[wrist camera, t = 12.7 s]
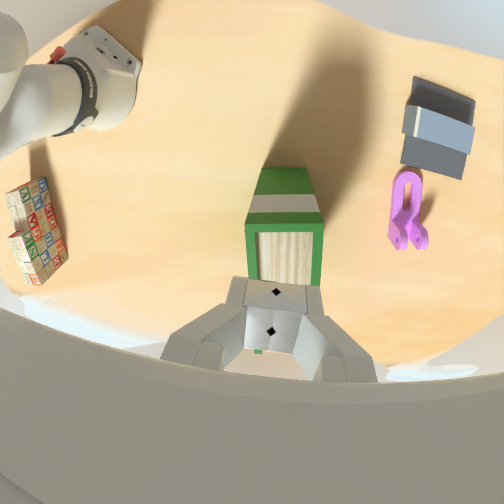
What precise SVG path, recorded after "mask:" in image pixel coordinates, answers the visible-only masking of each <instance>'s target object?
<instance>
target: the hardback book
mask: <svg viewBox="0 0 504 504" xmlns="http://www.w3.org/2000/svg"><path fill="white" fill-rule="evenodd" d="M323 228H324V223H323V220H322V216H321V213H320V210H319V207H318V203H317V200H316V197H315V194H314V191H313V188H312V185H311V182H310V179H309V176H308V173H307V170H306V168H262V169H261V173H260V176H259V179H258V182H257V185H256V189H255V192H254V195H253V198H252V201H251V205H250V208H249V211H248V214H247V218H246V221H245V237H246V250H247V263H248V276H249V278H253V279H260V280H267V281H274V282H279V283H289V284H299V285H314V286H319V287H320V278H321V264H322V248H323ZM254 352H255V354H262V350H258V349H254Z"/></svg>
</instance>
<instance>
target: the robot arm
mask: <svg viewBox="0 0 504 504" xmlns="http://www.w3.org/2000/svg"><path fill="white" fill-rule="evenodd" d="M87 33H88V34H87ZM86 34H87V35H86ZM28 54H29V48H28V41H27V37H26V34H25V32H24V30H23V28H22V26H21V25H20V24H19V23H18V22H17V21H16V20H15V19H14V18H12V17H11V16H9V15H7V14H5V13H1V12H0V160H2V159H3V158H5V157H6V156H7V155H9V154H10V153H12V152H13V151H15V150H17V149H18V148H20V147H22V146H24V145H26V144H28V143H31V142H34V141H37V140H40V139H43V138H46V137H49V136H53V137H56V136H62V135H66V134H70V133H73V132H77V131H80V130H82V129H92V130H97V131H105V130H109V129H112V128H114V127H116V126H117V125H119V124H120V123H121V122H122V121H123V120H124V119H125V118H126V117H127V115H128V114H129V112H130V111H131V109H132V106H133V104H134V100H135V96H136V80H137V77H138V75H139V72H140V69H141V62H140V61H139V60H138V59H137V58H136V57H135V56H134V55H133V54H131V53H130V52H129V51H128V50H127V49H126V48H125V47H124V46H123V45H121V44H120V43H119V42H118V41H117V40H116V39H115V38H113V37H112V36H111V35H110V34H109V33H108V32H106V31H105V30H104V29H103V28H102V27H100V26H92V27H90V28H88V29H86V30H84V31H83V32H81V33H80V34H79V35H78V36H76V37H74V38H73V39H71V40H70V41H68V42H67V43H66V44H65V45H64V46H63V47H60V46H59V47H57V48H56V49H55V51H54V52H53V53H52V54H51V55H50V57H51V60H50V61H49V62H48V64H31V65H25V63H26V61H27V59H28ZM130 61H132V63H131V64H129V62H130ZM24 65H25V66H24ZM243 348H248V349H258V350H268V351H275V352H283V353H291V354H292V355H293V356H294V358H295V359H296V361H297V363H298V364H299V366H300V367H301V368H302V370H303V372H304V373H305V375H306V376H307V378H308V379H309V381H308V380H295V379H283V378H273V377H264V376H255V375H247V374H240V373H232V372H226V371H223V368H224V367H225V366H226V365H227V364H228V363H229V362H230V361H232V360H233V358H234V357H236V356H237V355H238V354H239V353H240V352H241V351H242V350H243ZM0 504H504V372H501V373H495V374H488V375H481V376H474V377H465V378H456V379H446V380H433V381H418V382H394V383H378V381H377V378H376V373H375V368H374V364H373V360H372V357H371V356H370V355H369V354H368V353H367V352H366V351H365V350H364V349H363V348H362V347H361V346H360V345H358V344H357V343H356V342H355V341H354V340H353V339H352V338H351V337H350V336H349V335H348V334H347V333H346V332H345V331H344V330H343V329H342V328H341V327H339V326H338V325H337V324H336V323H335V322H334V321H333V320H332V319H331V318H330V317H329V316H324V310H323V303H322V297H321V291H320V287H319V286H314V285H299V284H289V283H279V282H274V281H267V280H260V279H253V278H247V277H239V276H233V278H232V281H231V285H230V288H229V292H228V295H227V299H226V302H225V304H222V303H221V304H219V305H217V306H216V307H214V308H213V309H211V310H209V311H208V312H206V313H205V314H203V315H201V316H200V317H198V318H196V319H195V320H193V321H192V322H190V323H188V324H187V325H185V326H183V327H182V328H180V329H178V330H177V331H175V332H174V333H172V334H171V335H170V337H169V339H168V342H167V344H166V346H165V348H164V351H163V353H162V355H161V358H160V359H156V358H153V357H148V356H144V355H140V354H136V353H132V352H128V351H124V350H121V349H117V348H113V347H110V346H106V345H103V344H99V343H96V342H92V341H89V340H86V339H83V338H80V337H77V336H73V335H70V334H67V333H64V332H62V331H59V330H56V329H53V328H50V327H47V326H45V325H42V324H39V323H37V322H34V321H31V320H29V319H27V318H24V317H21V316H19V315H17V314H14V313H12V312H9V311H7V310H5V309H3V308H0Z"/></svg>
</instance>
